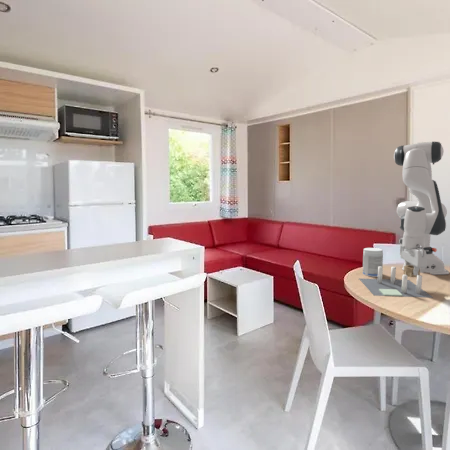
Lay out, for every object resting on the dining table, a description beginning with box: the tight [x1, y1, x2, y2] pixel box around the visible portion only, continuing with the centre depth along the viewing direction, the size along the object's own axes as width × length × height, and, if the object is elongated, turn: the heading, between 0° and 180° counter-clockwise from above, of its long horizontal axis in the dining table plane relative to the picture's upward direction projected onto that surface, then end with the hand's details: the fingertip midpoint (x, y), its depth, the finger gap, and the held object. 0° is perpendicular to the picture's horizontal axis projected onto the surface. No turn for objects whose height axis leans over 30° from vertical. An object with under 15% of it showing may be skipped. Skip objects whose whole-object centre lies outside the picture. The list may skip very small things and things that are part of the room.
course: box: [358, 266, 434, 299], centre depth 156 cm, size 24×26×9 cm
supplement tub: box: [362, 247, 384, 278], centre depth 178 cm, size 10×10×15 cm
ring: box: [403, 265, 421, 278], centre depth 154 cm, size 6×6×4 cm
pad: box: [379, 289, 403, 297], centre depth 148 cm, size 8×8×1 cm
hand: (411, 272), depth 154 cm, fingers closed on ring, 6 cm apart
